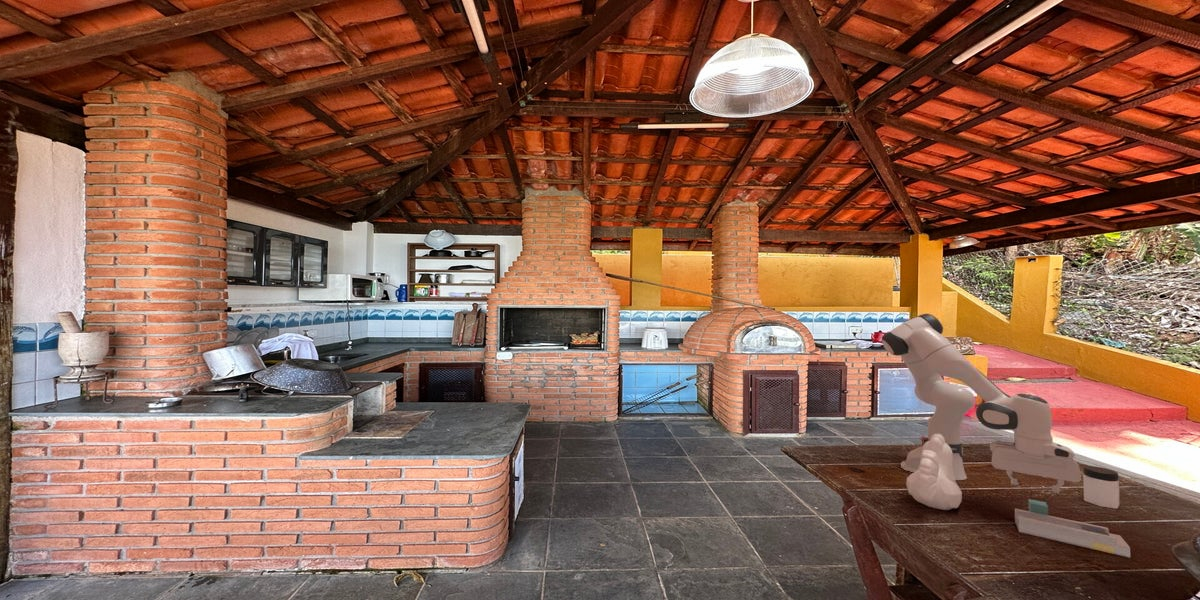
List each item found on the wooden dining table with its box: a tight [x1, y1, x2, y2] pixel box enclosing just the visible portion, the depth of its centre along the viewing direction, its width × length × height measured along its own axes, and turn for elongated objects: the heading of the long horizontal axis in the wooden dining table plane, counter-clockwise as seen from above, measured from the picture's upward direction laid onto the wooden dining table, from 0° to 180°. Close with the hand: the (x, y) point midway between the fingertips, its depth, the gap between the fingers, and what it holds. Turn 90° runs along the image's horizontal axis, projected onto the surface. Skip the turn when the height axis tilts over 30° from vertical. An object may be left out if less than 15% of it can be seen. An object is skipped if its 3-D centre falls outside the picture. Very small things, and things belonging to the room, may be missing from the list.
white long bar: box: [1014, 508, 1131, 559], centre depth 127 cm, size 22×8×6 cm, turn 52°
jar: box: [1082, 465, 1120, 510], centre depth 153 cm, size 9×8×12 cm
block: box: [1027, 498, 1050, 516], centre depth 137 cm, size 4×4×6 cm
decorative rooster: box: [905, 434, 963, 511], centre depth 151 cm, size 25×16×25 cm, turn 119°
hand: (1034, 488), depth 137 cm, fingers open, 8 cm apart
